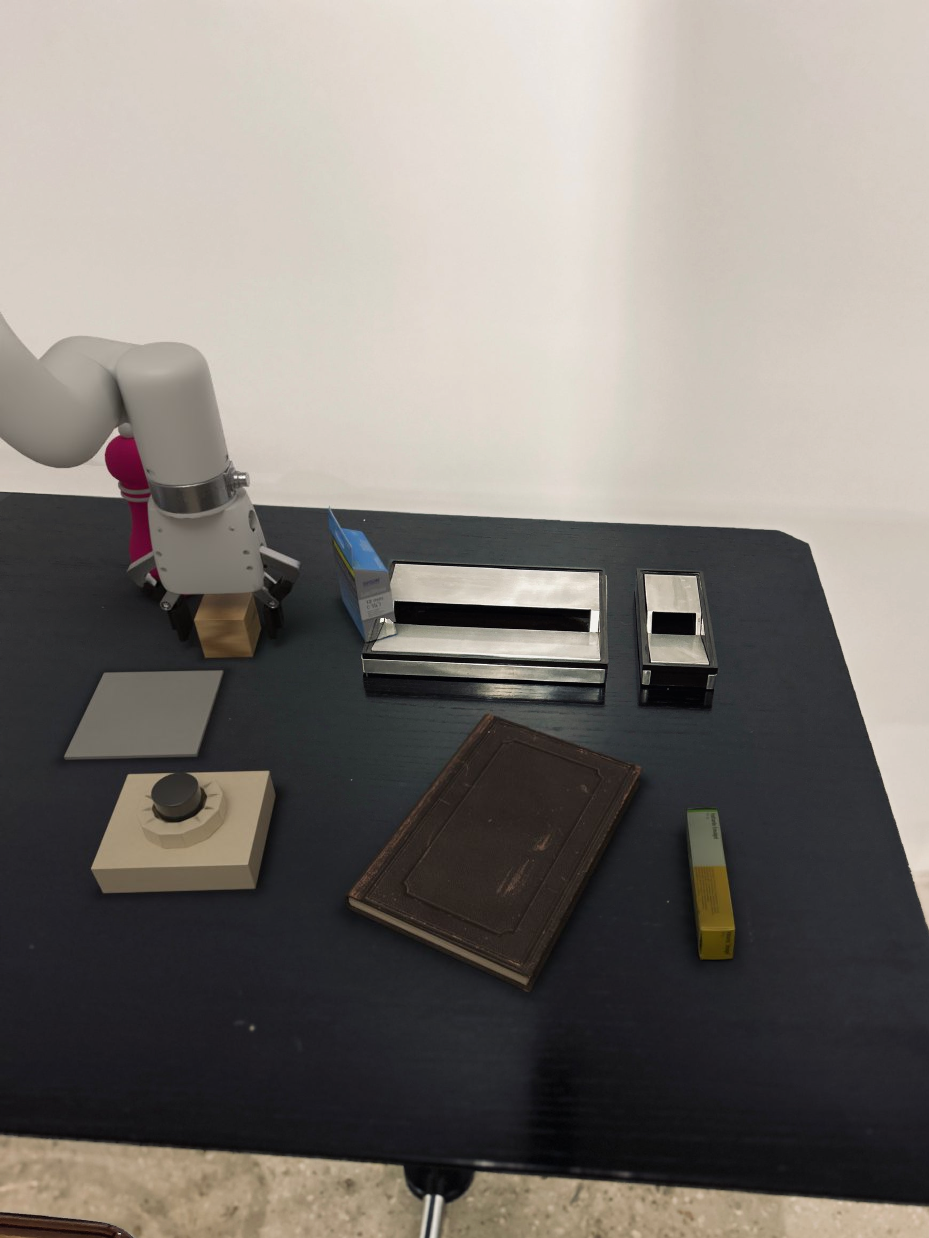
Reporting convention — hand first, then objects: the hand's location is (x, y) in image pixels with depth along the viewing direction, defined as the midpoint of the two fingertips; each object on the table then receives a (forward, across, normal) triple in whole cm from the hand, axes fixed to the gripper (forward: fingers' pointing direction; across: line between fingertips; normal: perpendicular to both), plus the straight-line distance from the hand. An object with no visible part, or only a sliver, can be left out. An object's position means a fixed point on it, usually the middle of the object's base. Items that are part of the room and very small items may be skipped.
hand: (231, 632), depth 92 cm
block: (+1, 0, 0) cm, 1 cm away
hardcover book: (+2, -28, +28) cm, 40 cm away
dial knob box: (+1, -2, +27) cm, 27 cm away
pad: (+1, +6, +11) cm, 13 cm away
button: (-3, -2, +27) cm, 27 cm away
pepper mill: (+2, +9, -11) cm, 14 cm away
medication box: (+2, -44, +34) cm, 56 cm away
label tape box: (+2, -14, -4) cm, 15 cm away
